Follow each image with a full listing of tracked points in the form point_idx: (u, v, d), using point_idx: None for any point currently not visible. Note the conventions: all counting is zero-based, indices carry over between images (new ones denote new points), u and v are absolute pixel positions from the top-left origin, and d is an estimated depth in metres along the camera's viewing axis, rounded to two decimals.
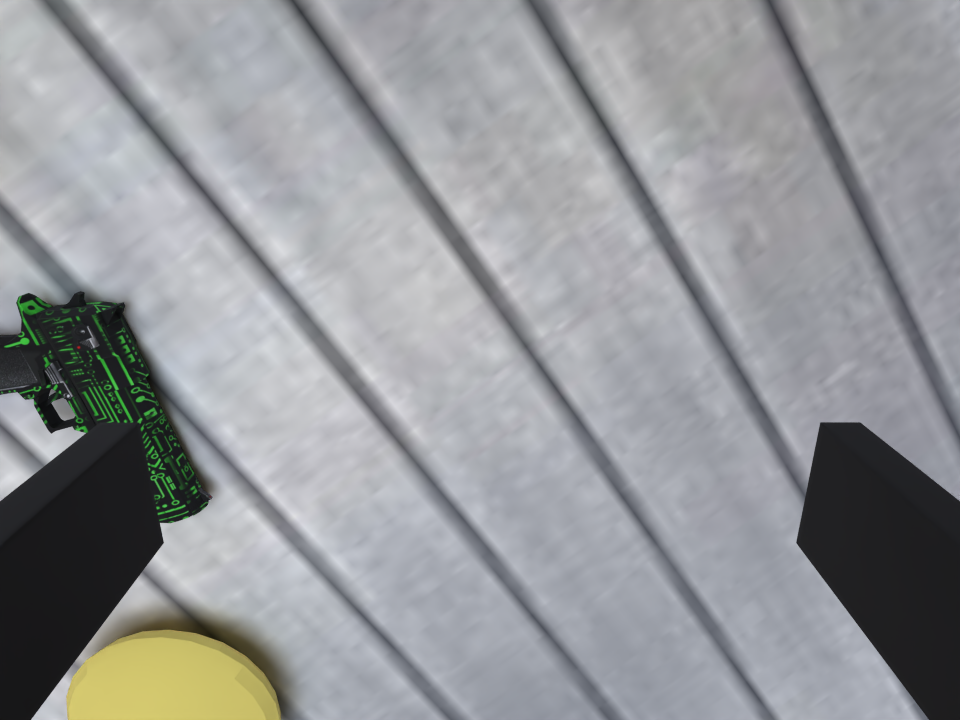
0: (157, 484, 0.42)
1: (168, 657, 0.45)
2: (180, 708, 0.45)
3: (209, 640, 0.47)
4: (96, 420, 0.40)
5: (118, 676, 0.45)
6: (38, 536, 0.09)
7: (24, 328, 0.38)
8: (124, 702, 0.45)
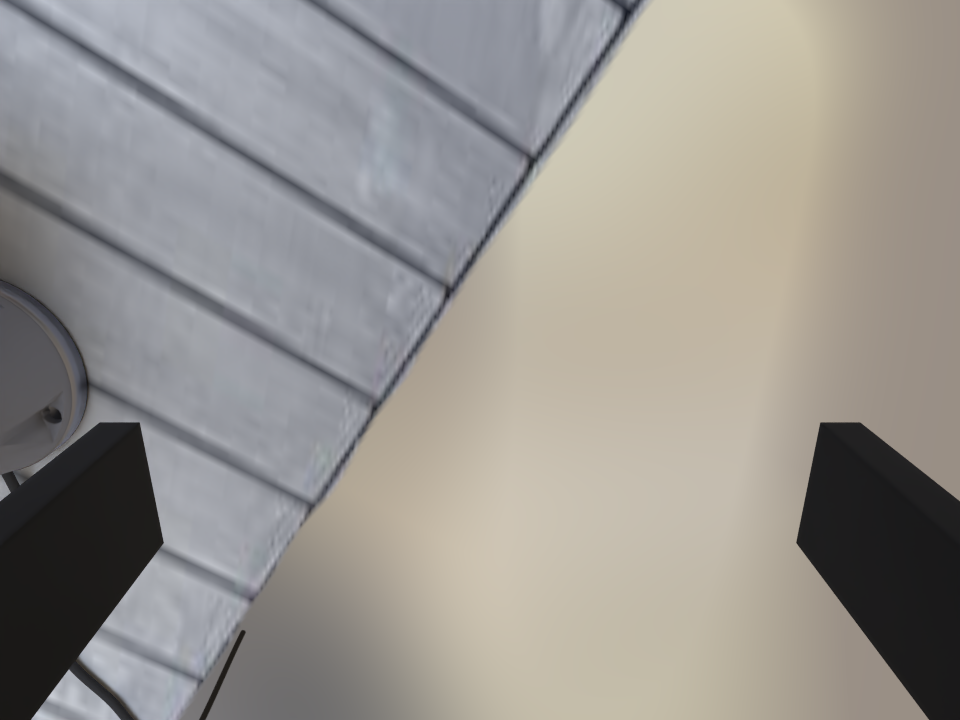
0: None
1: None
2: None
3: None
4: None
5: None
6: (38, 536, 0.09)
7: None
8: None
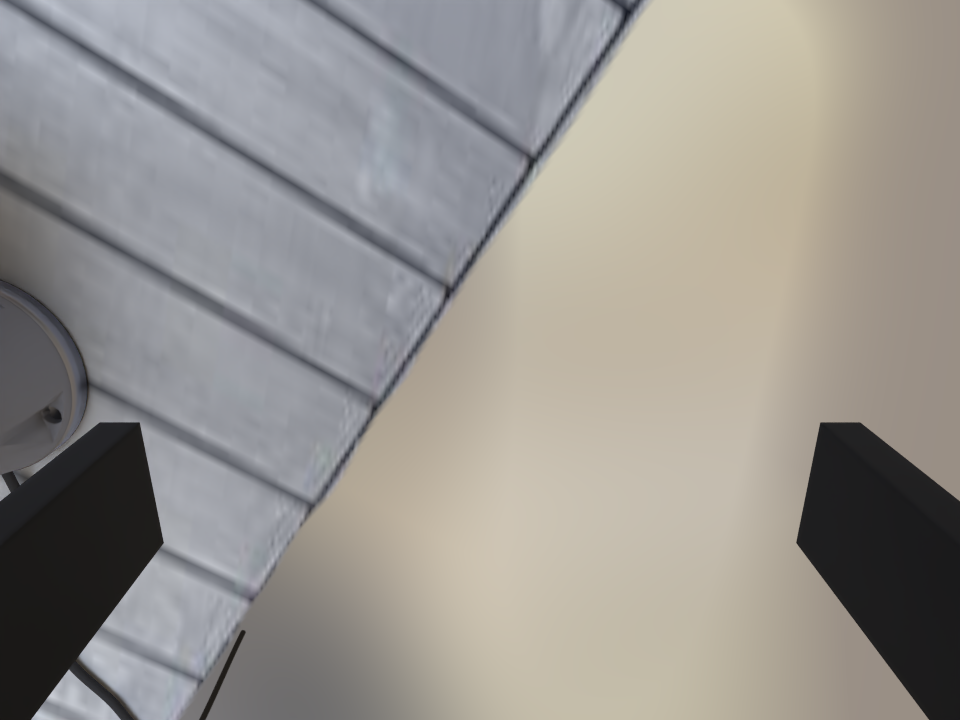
0: None
1: None
2: None
3: None
4: None
5: None
6: (38, 536, 0.09)
7: None
8: None
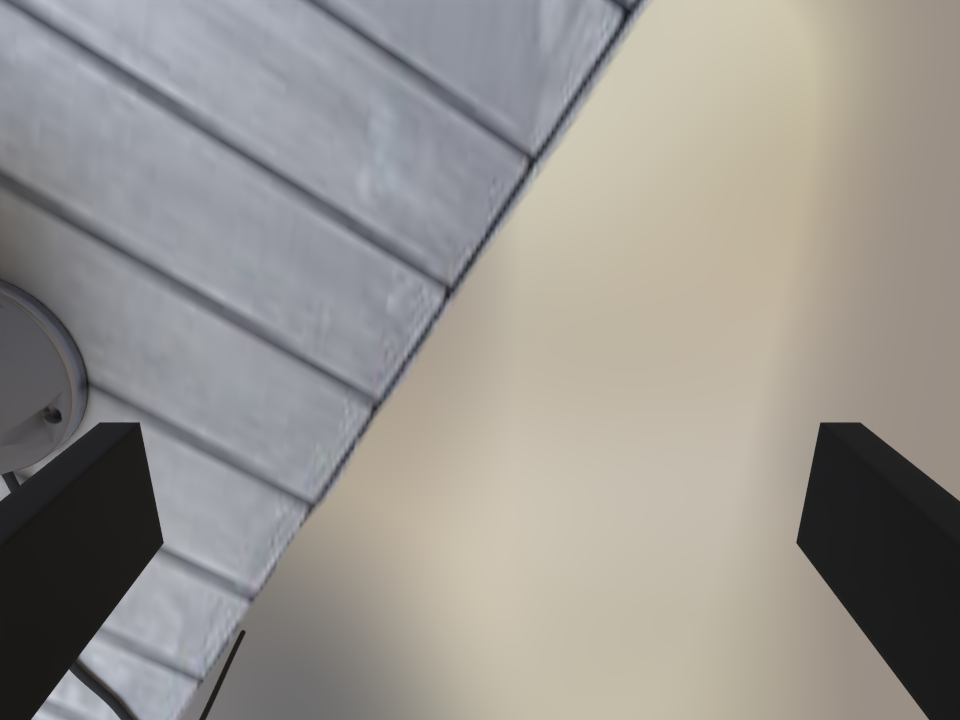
0: None
1: None
2: None
3: None
4: None
5: None
6: (38, 536, 0.09)
7: None
8: None
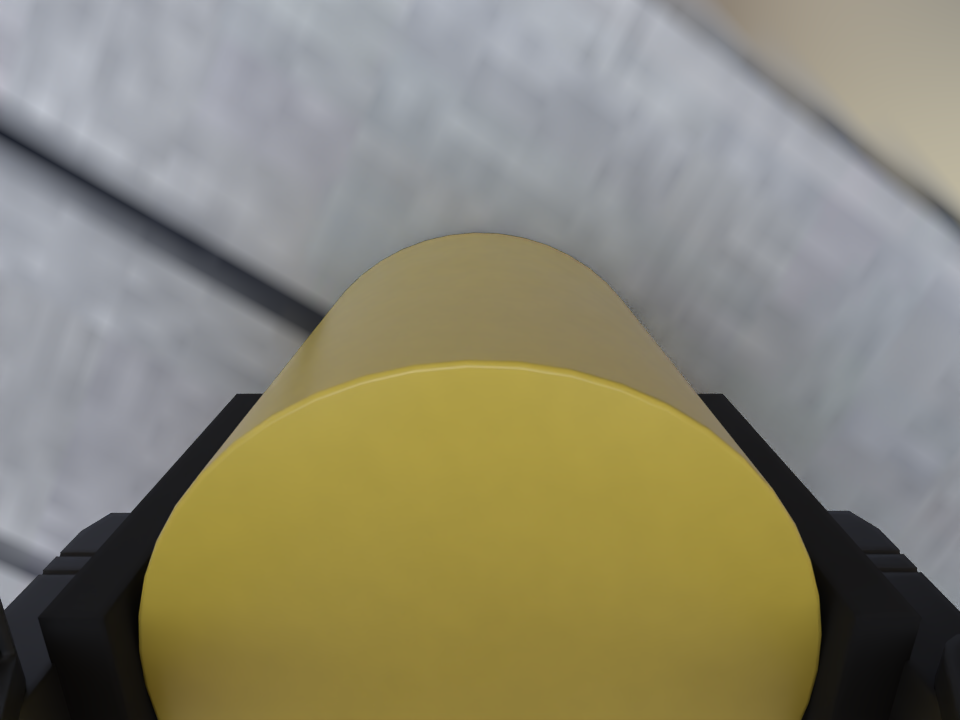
0: None
1: None
2: None
3: None
4: None
5: None
6: None
7: None
8: None
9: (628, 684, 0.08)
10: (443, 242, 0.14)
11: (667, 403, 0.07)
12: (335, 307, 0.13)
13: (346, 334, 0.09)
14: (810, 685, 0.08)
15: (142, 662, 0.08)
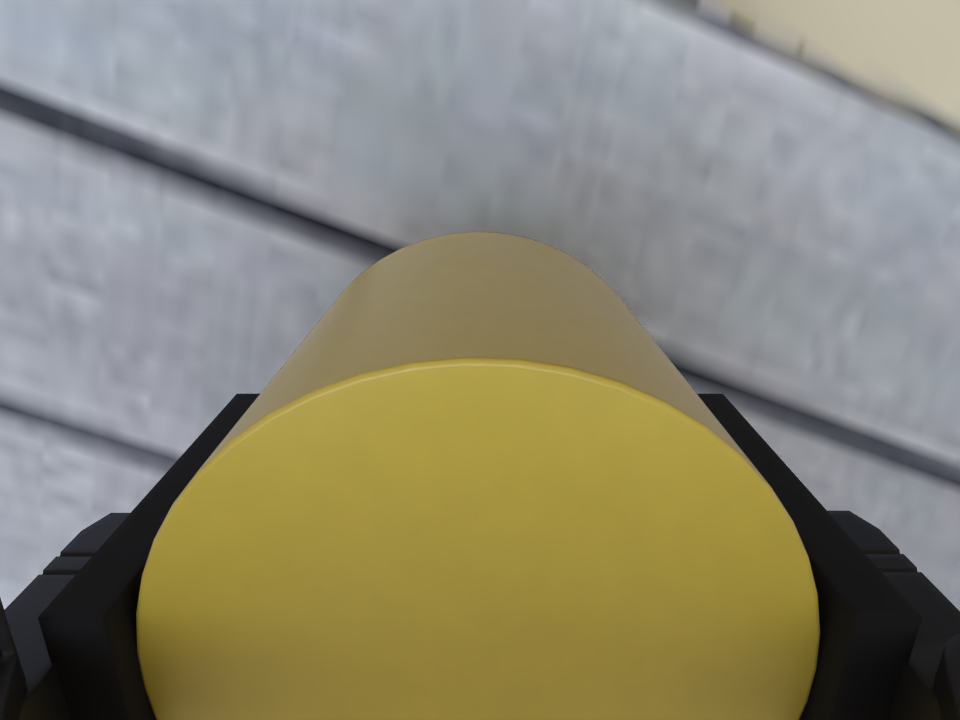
0: None
1: None
2: None
3: None
4: None
5: None
6: None
7: None
8: None
9: (627, 682, 0.08)
10: (442, 241, 0.14)
11: (665, 401, 0.07)
12: (334, 306, 0.13)
13: (344, 333, 0.09)
14: (809, 684, 0.08)
15: (140, 661, 0.08)
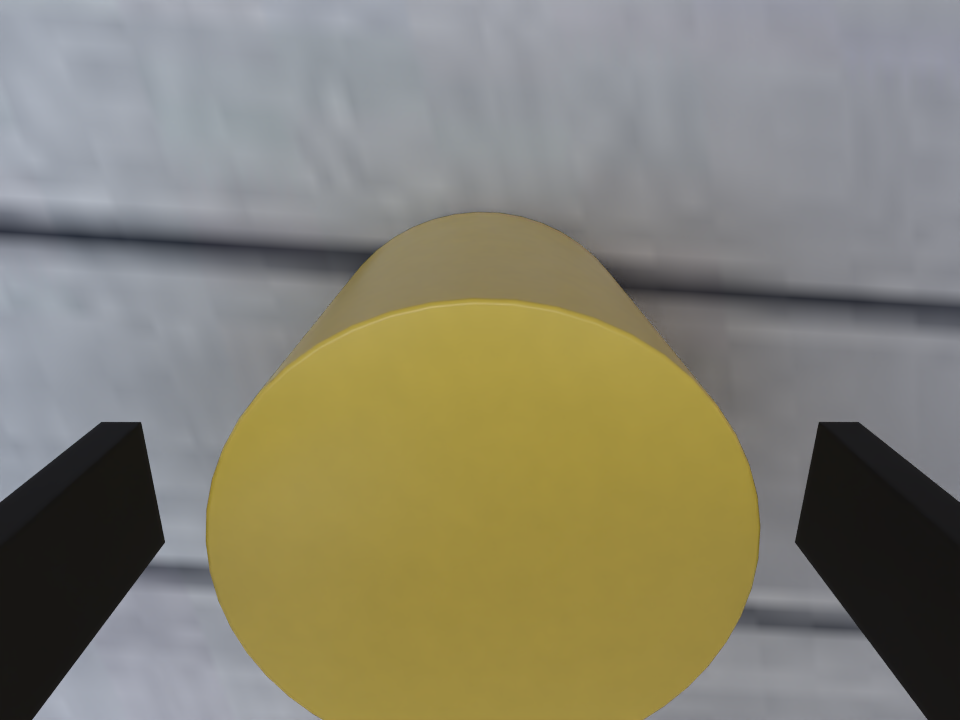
0: None
1: None
2: None
3: None
4: None
5: None
6: (40, 535, 0.09)
7: None
8: None
9: (604, 570, 0.10)
10: (450, 219, 0.16)
11: (631, 333, 0.09)
12: (356, 275, 0.15)
13: (372, 288, 0.11)
14: (752, 572, 0.10)
15: (208, 551, 0.10)
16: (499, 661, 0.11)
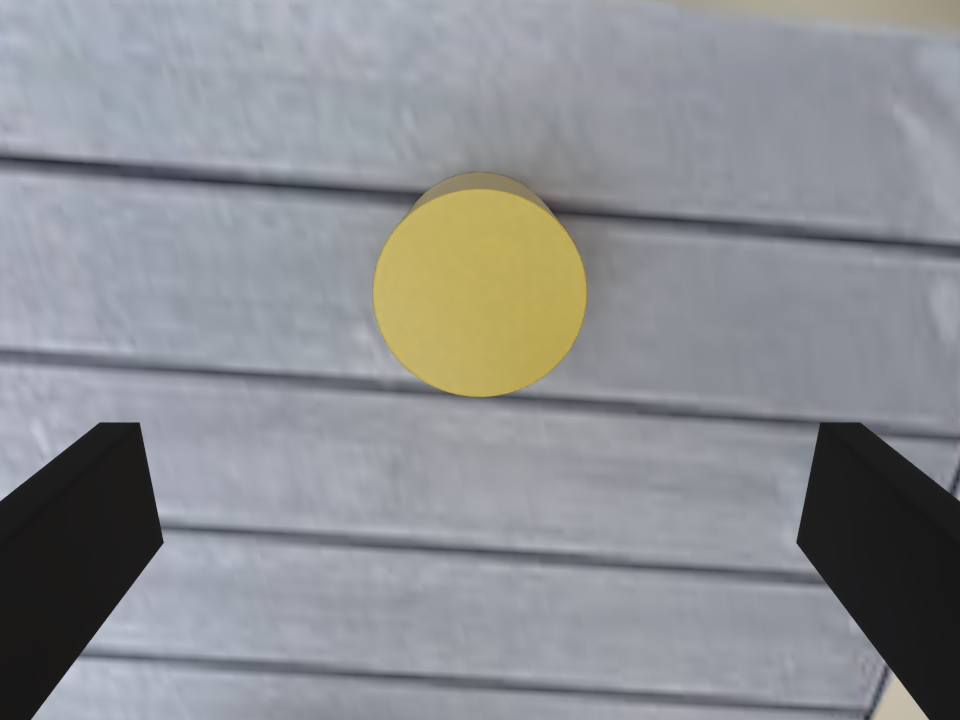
0: None
1: None
2: None
3: None
4: None
5: None
6: (38, 536, 0.09)
7: None
8: None
9: (527, 300, 0.26)
10: (463, 174, 0.32)
11: (532, 201, 0.25)
12: (419, 199, 0.31)
13: (435, 193, 0.27)
14: (584, 301, 0.26)
15: (373, 292, 0.26)
16: (486, 343, 0.27)
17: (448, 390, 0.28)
